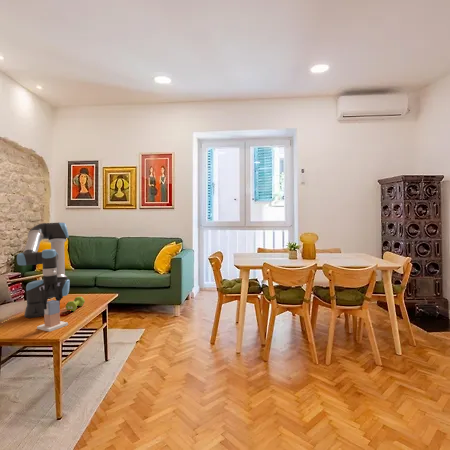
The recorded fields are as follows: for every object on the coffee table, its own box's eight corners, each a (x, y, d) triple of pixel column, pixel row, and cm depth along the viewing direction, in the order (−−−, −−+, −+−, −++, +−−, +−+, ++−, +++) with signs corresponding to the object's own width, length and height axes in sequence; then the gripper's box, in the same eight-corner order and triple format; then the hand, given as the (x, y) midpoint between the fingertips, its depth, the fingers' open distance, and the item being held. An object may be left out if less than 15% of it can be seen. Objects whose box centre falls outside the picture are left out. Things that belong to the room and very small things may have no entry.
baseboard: (37, 328, 190) (36, 326, 189) (55, 322, 200) (55, 320, 200) (49, 331, 184) (49, 329, 184) (68, 325, 195) (68, 322, 194)
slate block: (44, 314, 190) (43, 302, 190) (53, 311, 196) (53, 300, 196) (50, 315, 188) (49, 303, 187) (59, 312, 193) (59, 300, 193)
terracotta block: (44, 325, 190) (44, 314, 190) (54, 322, 196) (53, 311, 195) (50, 326, 188) (50, 315, 187) (60, 323, 193) (59, 312, 193)
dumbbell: (75, 305, 238) (74, 296, 238) (85, 305, 238) (85, 295, 238) (64, 312, 222) (64, 302, 221) (76, 312, 222) (75, 301, 222)
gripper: (38, 278, 181) (40, 318, 182) (68, 272, 198) (70, 308, 198) (30, 277, 184) (32, 316, 185) (60, 271, 201) (62, 307, 202)
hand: (52, 312), depth 192 cm, fingers closed on slate block, 6 cm apart
